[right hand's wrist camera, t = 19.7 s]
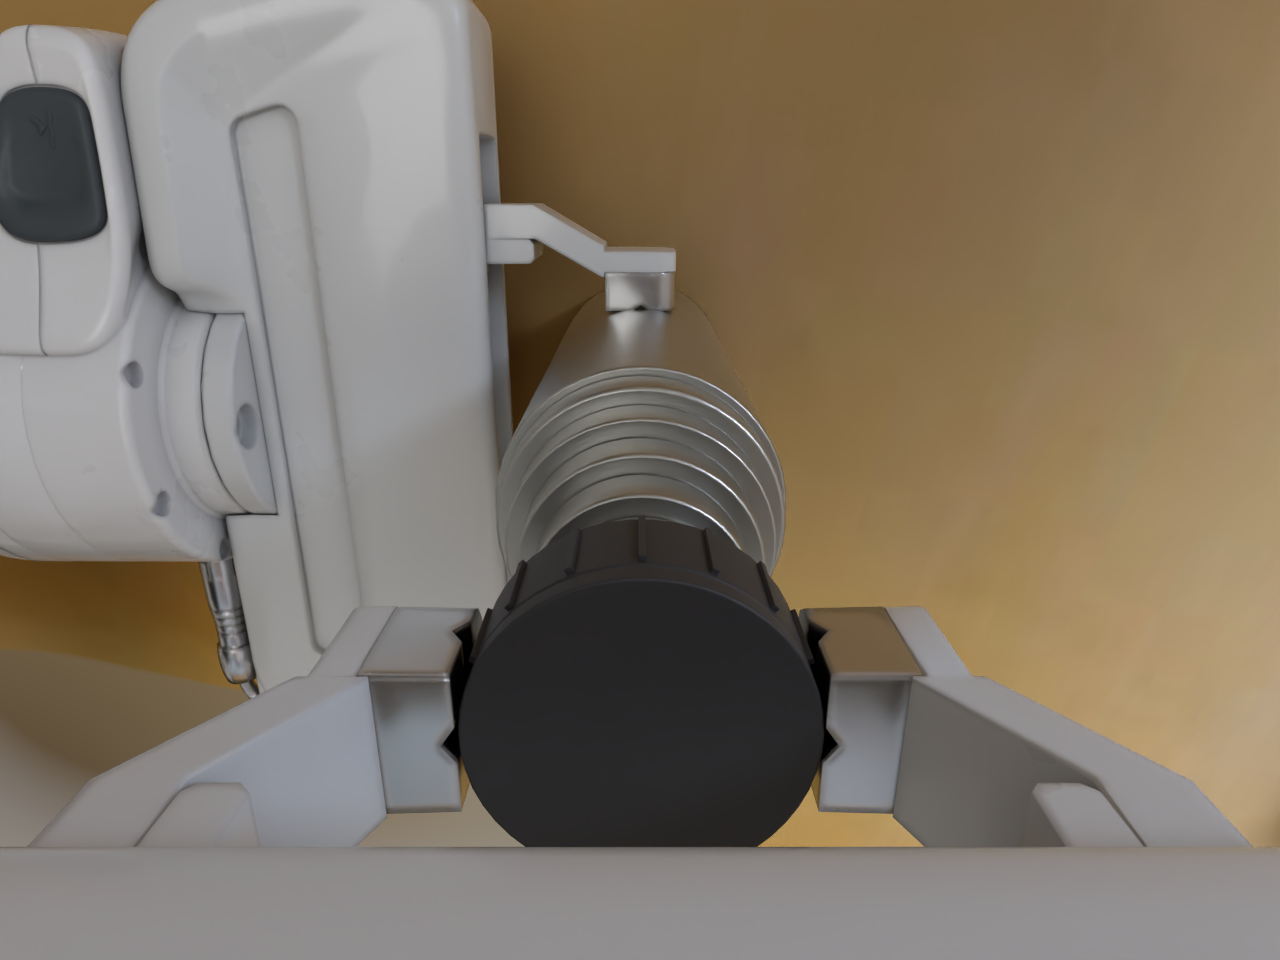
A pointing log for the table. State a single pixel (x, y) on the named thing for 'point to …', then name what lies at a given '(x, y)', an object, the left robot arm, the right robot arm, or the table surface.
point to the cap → (641, 694)
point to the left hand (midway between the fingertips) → (673, 402)
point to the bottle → (640, 438)
